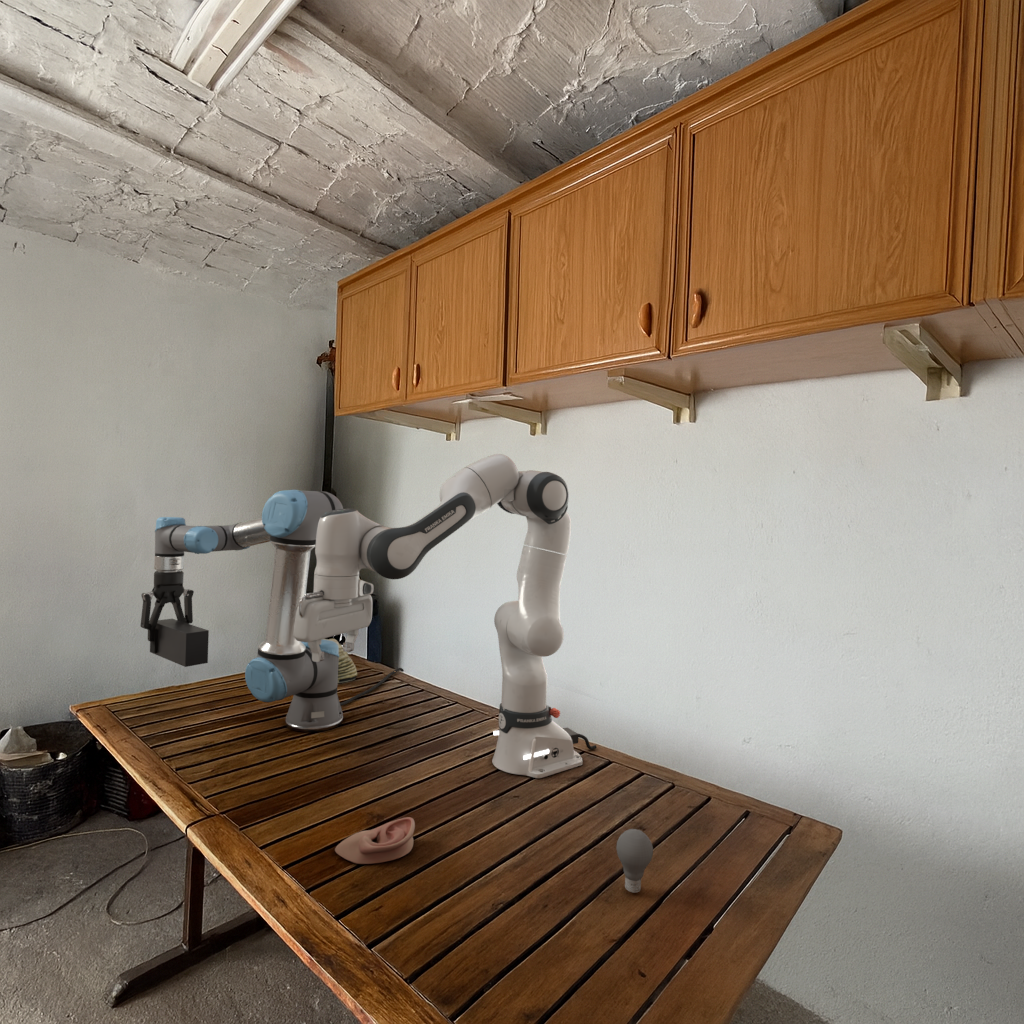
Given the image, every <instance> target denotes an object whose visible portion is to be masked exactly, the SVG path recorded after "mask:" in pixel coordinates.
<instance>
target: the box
mask: <svg viewBox="0 0 1024 1024" xmlns="http://www.w3.org/2000/svg"><path fill="white" fill-rule="evenodd" d="M155 629H156V630H158V648H157V653H153V652H150V653H152V654H154V655H155V656H157V657H160V658H163V659H165V660H167V661H170V662H172V663H175V664H178V665H180V666H182V667H184V668H188V667H192V666H198V665H204V664H208V663H209V633H210V630H209V629H206V628H203V627H199V626H196V625H194V624H191V623H189V624H187V623H184V622H181V621H178V620H177V619H176V618H175V619H174V618H167V619H166V618H165V619H158V622H157V625H156V628H155ZM150 650H151V642H150V641H149V651H150Z"/></svg>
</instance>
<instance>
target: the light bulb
mask: <svg viewBox="0 0 1024 1024" xmlns="http://www.w3.org/2000/svg"><path fill="white" fill-rule="evenodd" d="M615 849H616V854H617V857H618V859H619V861H620V863H621V865H622V867H623V873H624V874H623V875H624V876H625V878H624V888H625V890H627V891H628V892H630V893H634V894H635V893H639V892H640V891H641V889H642V887H641V886H642V879H643V877H644V875H645V871H646V868H647V867H648V866H649V864H650V863H651V861H652V859H653V855H654V847H653V843H652V841H651V838H649V836H648V835H647V834H646V833H645V832H643V831H642V830H641V829H636V828H629V829H627V830H625V831H623V832H622V833H621V834H620V835H619V837H618V839H617V841H616V847H615Z"/></svg>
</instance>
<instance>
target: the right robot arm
mask: <svg viewBox="0 0 1024 1024" xmlns="http://www.w3.org/2000/svg"><path fill="white" fill-rule="evenodd" d="M569 499H570V498H569V489H568V484H567V482H566V481H565V479H564V478H562V477H561V476H559V475H558V474H557V473H554V472H550V471H542V470H541V471H538V470H534V469H533V470H529V469H528V470H518V467H517V465H516V463H515V461H513V460H512V459H511V458H510V457H509V456H508V455H505V454H503V453H494V454H492V455H491V454H490V455H488V456H486V457H483V458H480V459H478V460H476V461H474V462H472V463H470V464H468V465H466V466H464V467H463V468H461V469H459V470H458V471H456V472H455V473H453V474H452V475H451V476H450V477H448V478H447V479H446V480H445V481H444V482H443V483H442V484H441V486H440V490H439V500H440V503H439V504H438V505H437V506H436V507H434V508H433V509H432V510H430V511H428V512H427V513H425V515H423V516H421V517H419V518H418V519H417V520H416V521H414V522H412V523H411V524H408V525H406V526H400V527H389V526H386V525H382V524H381V523H378V522H376V521H374V520H372V519H369V518H368V517H366V516H365V515H363V514H362V513H361V512H359V510H358V509H356V508H343V509H338V510H332V511H328V512H326V513H324V514H323V515H322V516H321V517H320V519H319V522H318V527H317V534H316V545H315V547H314V553H315V558H316V565H315V568H314V572H313V573H314V574H313V591H312V592H306V594H305V595H304V597H302V599H301V600H300V601H299V606H298V608H297V612H296V618H295V625H294V637H295V639H296V640H297V641H301V642H308V645H309V648H310V650H311V652H312V661H314V662H319V661H322V660H324V652H322V651H321V649H320V646H319V645H321V639H324V638H325V639H328V638H330V637H335V636H338V635H342V634H345V633H346V634H347V636H346V638H345V641H344V642H343V643H342V647H343V651H344V652H347V653H350V652H354V650H355V643H356V640H357V638H358V636H359V631H360V630H361V629H365V628H368V627H369V626H370V624H371V623H372V620H373V619H372V618H373V597H372V594H373V593H374V590H375V589H374V587H375V586H374V584H373V583H372V582H369V581H365V580H363V579H360V571H361V570H362V569H368V570H369V571H372V572H375V573H376V574H378V575H379V576H381V577H383V578H384V579H388V580H400V579H404V578H406V577H408V576H410V575H411V574H412V573H414V571H415V570H416V569H417V568H418V566H419V565H420V563H421V562H422V561H423V559H424V557H426V555H427V554H428V553H429V552H430V551H431V550H432V549H433V548H435V547H436V546H437V545H439V544H440V543H442V542H444V540H446V539H447V538H448V537H450V536H451V535H452V534H453V533H455V532H456V531H457V530H459V529H460V528H462V527H463V526H464V525H465V524H467V523H469V522H470V521H472V520H474V519H475V518H477V517H479V516H481V515H482V514H484V513H486V512H487V511H488V510H490V509H491V508H493V507H494V506H496V505H497V506H498V507H499V508H500V509H501V510H503V511H504V512H506V513H508V514H511V515H518V516H520V517H521V516H522V517H525V519H526V521H527V523H526V524H527V530H526V535H525V538H524V541H523V545H522V549H521V554H520V558H519V562H518V568H517V570H516V581H517V586H518V587H517V589H518V596H517V597H518V599H517V600H511V601H506V602H504V603H502V604H501V605H500V606H499V607H498V608H497V610H496V612H495V614H494V618H493V619H494V620H493V622H494V627H495V629H496V633H497V638H498V639H497V640H498V647H499V649H498V650H499V656H500V663H501V676H502V677H501V702H500V704H499V710H498V730H493V736H497V741H496V746H495V750H494V752H493V753H494V754H493V756H492V759H491V762H492V765H493V766H494V767H495V768H496V769H498V770H500V771H502V772H504V773H508V774H513V775H519V776H527V777H531V778H533V779H534V778H535V779H542V778H546V777H548V776H552V775H555V774H558V773H561V772H565V771H568V770H570V769H574V768H577V767H580V766H583V757H582V756H581V754H580V753H578V752H577V750H575V749H574V745H576V744H579V738H580V739H582V740H583V741H584V742H585V746H586V748H587V749H588V750H589V751H593V750H596V749H597V745H596V744H594V745H590V741H589V739H588V738H587V736H585V735H584V734H581V733H577V732H576V731H575V730H572V729H571V728H569V727H561V726H560V725H559V724H558V723H557V722H555V720H553V718H555V719H558V718H560V716H561V711H560V709H558V708H556V707H551V706H550V705H548V704H547V698H548V673H547V670H546V667H545V663H544V660H543V657H544V658H546V657H550V656H552V655H554V654H556V653H557V652H558V650H559V649H560V648H561V647H562V645H563V642H564V639H565V631H564V628H563V625H562V620H561V587H562V579H563V576H564V570H565V566H566V562H567V557H568V553H569V550H570V549H569V548H570V543H571V534H572V533H571V531H572V519H571V516H570V514H569V513H568V512H567V511H568V505H569ZM552 717H553V718H552Z"/></svg>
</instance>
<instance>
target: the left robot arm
mask: <svg viewBox="0 0 1024 1024" xmlns="http://www.w3.org/2000/svg"><path fill="white" fill-rule="evenodd" d="M338 509H344V506H343V504H342V502H341V500H340V499H339V498H338V497H337V496H335V495H334V494H333V493H330V492H328V491H323V490H321V491H320V490H300V489H285V490H284V489H283V490H280V491H276V492H275V493H273V494H272V495H271V496H270V497H268V499H267V500H266V502H265V503H264V506H263V508H262V513H261V516H260V517H256V518H252V519H248V520H245V521H241V522H237V523H233V524H227V525H187V524H186V519H185V518H184V517H180V516H179V517H178V516H160V517H157V519H156V520H155V529H154V561H153V562H154V564H153V565H154V566H153V569H154V570H155V571H154V573H153V587H152V590H151V591H149V592H142V593H141V599H142V607H141V617H140V628H142V629H145V630H147V641H148V642H149V643H150V642H151V650H150V649H149V653H151V652H153V653H157V648H158V630H156V629H155V628H156V625H157V622H158V620H160V616H161V615H162V611H163V608H164V607H165V605H166V604H169V603H171V605H172V607H173V610H174V614H175V616H176V620H178V621H181V622H184V623H187V624H192V623H193V622H194V617H193V615H194V614H193V596H194V593H195V591H194V590H193V589H190V588H185V587H184V575H185V573H184V571H183V570H184V567H185V553H190V554H191V553H192V554H196V555H200V554H201V555H202V554H203V555H204V554H209V553H213V552H223V551H225V552H226V551H242V550H247V549H249V548H250V547H252V546H257V545H261V544H265V543H271V545H273V547H274V557H273V566H272V574H271V586H270V595H269V604H268V612H267V622H266V631H265V632H266V633H265V639H264V640H263V641H261V642H260V643H259V644H258V648H257V655H256V657H254V658H252V659H251V660H250V661H249V662H248V663H247V665H246V666H245V670H244V671H245V672H244V677H245V678H244V679H245V683H246V686H247V688H248V690H249V691H250V693H251V695H252V696H253V697H254V698H255V699H256V700H258V701H260V702H263V703H274V702H276V701H277V702H278V701H282V700H284V699H286V698H288V697H291V696H293V697H292V699H291V702H290V704H289V708H288V711H287V713H286V715H285V726H286V728H287V729H289V730H291V731H294V732H295V731H296V732H301V733H316V732H325V731H329V730H332V729H335V728H337V727H339V726H340V725H342V723H343V722H344V714H343V709H342V706H345V705H347V704H349V703H352V702H353V701H354V700H356V699H359V698H361V697H363V696H364V695H367V694H369V693H371V692H372V691H374V690H376V689H377V688H378V687H380V686H381V685H382V684H383V683H384V682H386V681H387V680H388V679H389V678H390V677H391V676H393V675H395V674H396V673H398V672H399V671H400V672H405V670H404V668H402V667H397V668H396V669H394V670H393V671H391V672H389V673H387V675H385V676H384V677H383V678H382V679H381V680H379V682H378V683H376V684H374V685H373V686H372V687H370V688H368V689H367V690H364V691H362V692H360V693H358V694H356V695H354V696H352V697H350V698H349V699H346V700H344V701H342V702H340V699H339V695H338V684H339V683H338V664H339V647H338V645H337V643H335V642H333V641H329V639H328V640H322V639H321V645H319V646H320V649H321V651H322V652H324V660H322V661H319V662H314V661H312V652H311V650H310V648H309V645H308V642H301V641H297V640H296V639H295V637H294V625H295V618H296V612H297V608H298V606H299V601H300V600H301V599H302V597H304V595H305V594H306V593H307V586H308V577H309V570H310V569H309V568H310V559H311V551H313V549H315V545H316V534H317V527H318V522H319V519H320V517H321V516H322V515H323V514H324V513H326V512H328V511H332V510H338ZM153 596H154V598H155V602H154V607H153V610H152V612H151V609H152V600H153ZM181 596H183V607H182V603H181V599H180V598H181ZM183 608H184V611H183ZM153 653H152V654H153ZM394 671H396V672H394Z"/></svg>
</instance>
